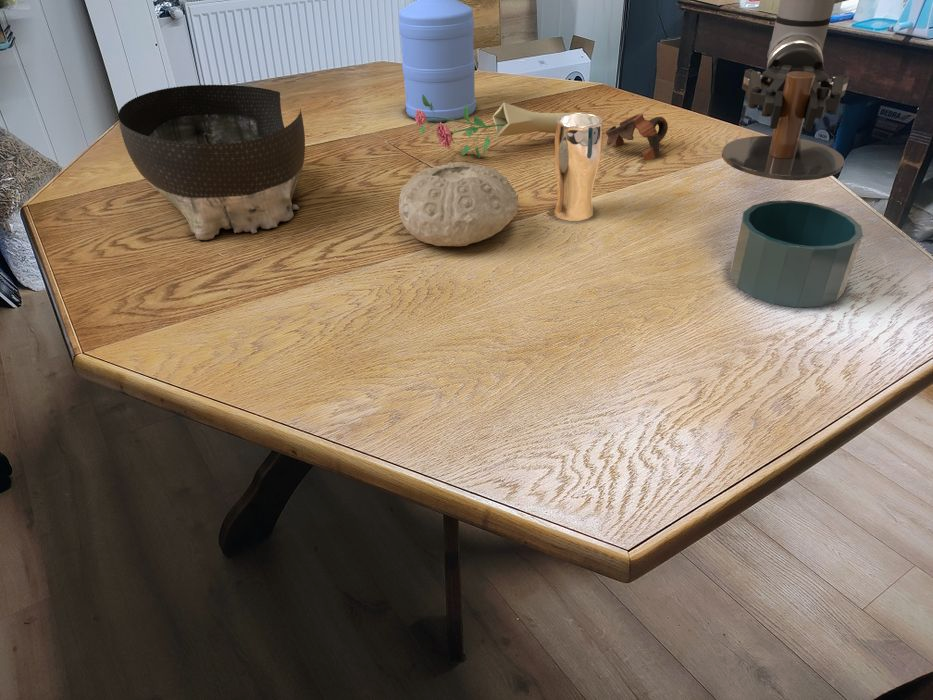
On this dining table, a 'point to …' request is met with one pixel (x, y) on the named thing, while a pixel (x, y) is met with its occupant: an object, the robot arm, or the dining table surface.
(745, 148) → the lid
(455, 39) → the water jug
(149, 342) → the dining table surface
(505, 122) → the flower vase
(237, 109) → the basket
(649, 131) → the twisted brown loop sculpture
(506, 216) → the decorative shell
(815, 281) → the pot
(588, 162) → the beer glass
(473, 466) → the dining table surface
